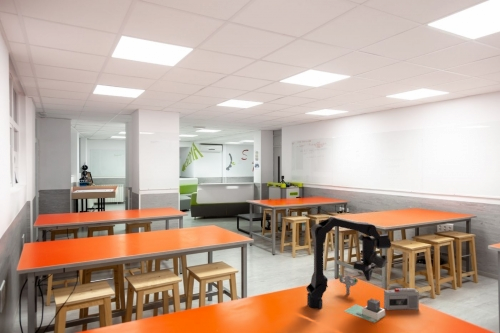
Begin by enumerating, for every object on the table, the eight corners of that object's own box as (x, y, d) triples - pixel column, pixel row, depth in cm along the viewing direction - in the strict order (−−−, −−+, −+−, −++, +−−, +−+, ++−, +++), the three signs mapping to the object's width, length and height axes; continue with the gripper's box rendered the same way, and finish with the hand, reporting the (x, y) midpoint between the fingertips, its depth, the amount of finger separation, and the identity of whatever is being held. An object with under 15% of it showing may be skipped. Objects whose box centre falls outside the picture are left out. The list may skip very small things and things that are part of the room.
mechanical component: (340, 292, 174) (340, 273, 174) (358, 297, 166) (358, 278, 166) (337, 293, 172) (337, 274, 172) (355, 299, 164) (355, 279, 164)
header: (361, 314, 146) (361, 308, 146) (369, 309, 151) (369, 304, 151) (377, 319, 140) (377, 314, 140) (385, 315, 145) (385, 309, 145)
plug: (366, 313, 146) (366, 300, 146) (370, 311, 149) (370, 298, 149) (375, 317, 143) (375, 303, 143) (379, 314, 145) (379, 301, 145)
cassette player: (386, 311, 151) (386, 290, 151) (384, 309, 153) (384, 288, 153) (418, 310, 152) (418, 289, 152) (415, 308, 154) (415, 287, 154)
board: (343, 312, 149) (343, 310, 149) (355, 306, 156) (355, 303, 156) (374, 324, 138) (374, 322, 138) (386, 316, 145) (386, 314, 145)
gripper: (374, 255, 145) (374, 290, 145) (393, 248, 158) (393, 280, 158) (352, 251, 154) (352, 283, 153) (371, 244, 166) (371, 274, 166)
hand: (368, 280), depth 157 cm, fingers closed
